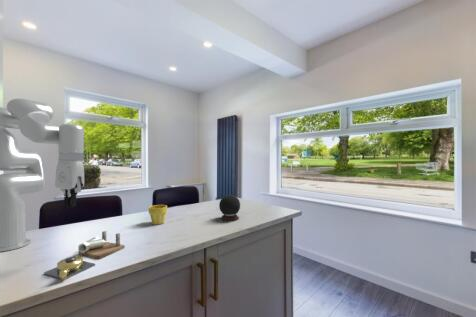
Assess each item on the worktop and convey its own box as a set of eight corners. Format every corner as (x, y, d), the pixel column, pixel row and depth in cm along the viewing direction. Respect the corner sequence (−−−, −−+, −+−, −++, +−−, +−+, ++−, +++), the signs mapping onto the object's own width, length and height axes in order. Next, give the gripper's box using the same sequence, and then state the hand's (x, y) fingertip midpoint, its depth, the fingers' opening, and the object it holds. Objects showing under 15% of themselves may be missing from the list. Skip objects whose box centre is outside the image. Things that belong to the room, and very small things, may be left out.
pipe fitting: (108, 246, 92) (92, 244, 93) (108, 237, 92) (93, 235, 93) (94, 254, 84) (77, 252, 85) (95, 244, 84) (78, 242, 85)
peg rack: (78, 254, 86) (78, 238, 86) (104, 244, 97) (104, 230, 97) (99, 259, 82) (99, 242, 82) (124, 248, 92) (124, 233, 92)
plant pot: (145, 222, 129) (145, 206, 129) (162, 219, 136) (162, 203, 136) (152, 226, 121) (152, 209, 121) (170, 223, 128) (170, 206, 128)
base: (44, 274, 71) (44, 272, 71) (76, 260, 81) (76, 259, 81) (63, 280, 68) (63, 278, 68) (95, 265, 77) (95, 263, 77)
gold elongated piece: (47, 282, 65) (47, 272, 65) (61, 264, 76) (61, 256, 76) (76, 277, 68) (76, 267, 68) (85, 260, 79) (85, 252, 79)
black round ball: (239, 215, 144) (239, 193, 144) (241, 221, 131) (241, 196, 131) (219, 216, 143) (219, 193, 143) (219, 222, 130) (218, 196, 130)
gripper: (47, 157, 81) (46, 206, 81) (72, 158, 75) (71, 211, 75) (69, 157, 88) (68, 203, 88) (94, 158, 82) (93, 207, 82)
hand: (70, 206), depth 82 cm, fingers closed
